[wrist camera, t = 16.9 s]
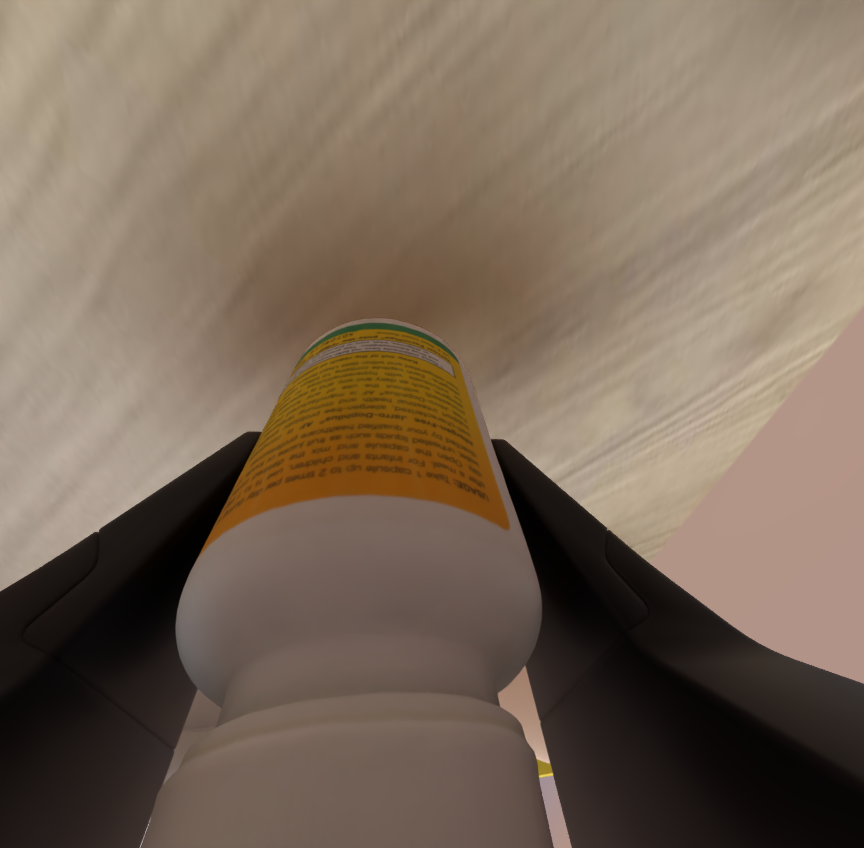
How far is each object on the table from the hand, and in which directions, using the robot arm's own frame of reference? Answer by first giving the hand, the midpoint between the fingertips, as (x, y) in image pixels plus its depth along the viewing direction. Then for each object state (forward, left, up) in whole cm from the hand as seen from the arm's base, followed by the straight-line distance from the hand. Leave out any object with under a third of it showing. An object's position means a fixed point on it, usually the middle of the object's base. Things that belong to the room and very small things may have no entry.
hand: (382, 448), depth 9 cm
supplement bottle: (0, 0, -3) cm, 3 cm away
